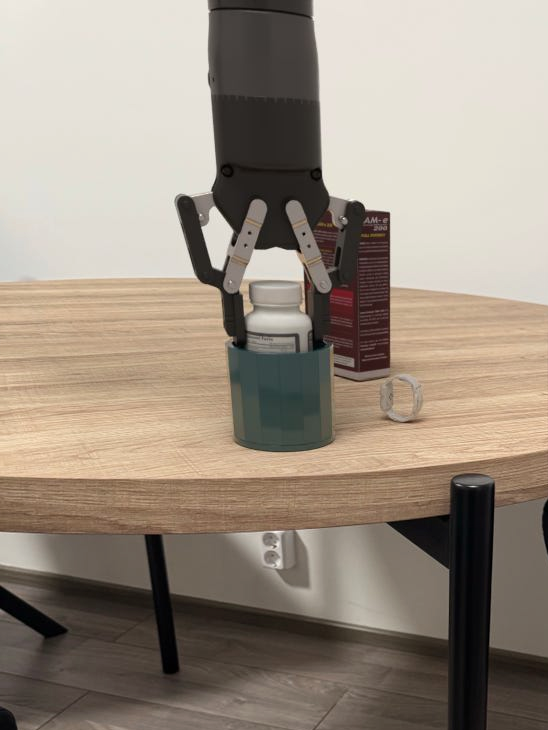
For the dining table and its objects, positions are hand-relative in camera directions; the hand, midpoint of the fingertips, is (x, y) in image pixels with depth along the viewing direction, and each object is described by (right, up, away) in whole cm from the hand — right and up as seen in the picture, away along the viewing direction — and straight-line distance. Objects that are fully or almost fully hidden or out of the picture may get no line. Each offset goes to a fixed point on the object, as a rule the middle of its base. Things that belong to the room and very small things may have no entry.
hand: (278, 341), depth 74 cm
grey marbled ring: (+9, -4, +10) cm, 14 cm away
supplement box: (+2, +5, +26) cm, 27 cm away
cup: (0, -7, +4) cm, 8 cm away
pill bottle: (0, -5, +3) cm, 6 cm away
